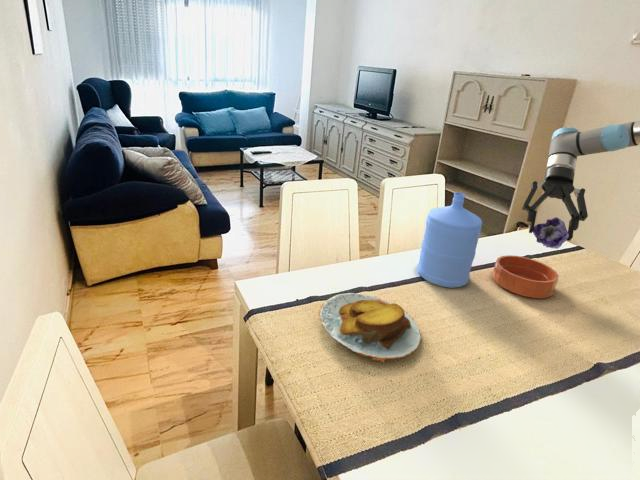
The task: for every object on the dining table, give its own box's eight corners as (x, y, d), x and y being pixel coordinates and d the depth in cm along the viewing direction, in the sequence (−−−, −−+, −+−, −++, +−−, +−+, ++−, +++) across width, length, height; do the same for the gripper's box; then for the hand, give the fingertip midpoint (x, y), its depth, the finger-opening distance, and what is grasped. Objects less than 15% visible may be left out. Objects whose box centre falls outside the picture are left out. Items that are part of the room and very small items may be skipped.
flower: (545, 214, 123) (550, 210, 114) (572, 232, 119) (579, 229, 110) (524, 236, 125) (527, 233, 116) (549, 254, 121) (554, 252, 112)
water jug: (464, 294, 115) (486, 207, 105) (411, 278, 122) (426, 195, 112) (471, 273, 127) (491, 193, 117) (422, 259, 135) (437, 183, 125)
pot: (555, 283, 123) (560, 267, 121) (549, 306, 111) (555, 288, 109) (497, 266, 132) (502, 250, 130) (486, 285, 120) (491, 268, 118)
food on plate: (338, 291, 114) (340, 271, 111) (426, 318, 103) (430, 298, 101) (302, 341, 93) (304, 318, 90) (408, 382, 82) (413, 357, 80)
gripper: (597, 183, 120) (590, 248, 113) (518, 172, 130) (506, 231, 122) (607, 171, 114) (600, 238, 107) (523, 160, 124) (510, 221, 116)
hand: (550, 234), depth 115 cm, fingers closed on flower, 9 cm apart
